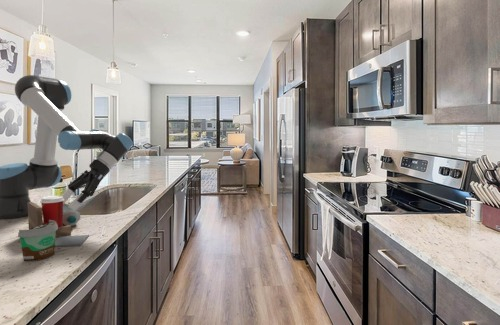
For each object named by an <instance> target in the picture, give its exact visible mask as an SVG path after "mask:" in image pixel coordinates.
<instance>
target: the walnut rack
mask: <svg viewBox="0 0 500 325" xmlns="http://www.w3.org/2000/svg"><path fill="white" fill-rule="evenodd" d="M27 204H28V215H27V219H28V220H27V221H28V230H29V229H31V228H33V227H35V226H38V225H43V224H44V221H43V213H42V206H40V205H38V204H36V203H35V202H33V201H31V202H27ZM59 236H72V226H70V225H67V226H66V225H63V226H62V227H58V229H57V230H56V235H55V239H57V238H58V237H59Z"/></svg>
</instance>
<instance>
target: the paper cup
mask: <svg viewBox="0 0 500 325" xmlns="http://www.w3.org/2000/svg"><path fill="white" fill-rule="evenodd" d="M63 201H64V199H63V197H62V196H61V195H49V196H43V197H41V199H40V204H41V207H42V218H43V222H44V224H46V223H49V220H54V221H56V223H57V225H58V227H62V226H64V224H63Z"/></svg>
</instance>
